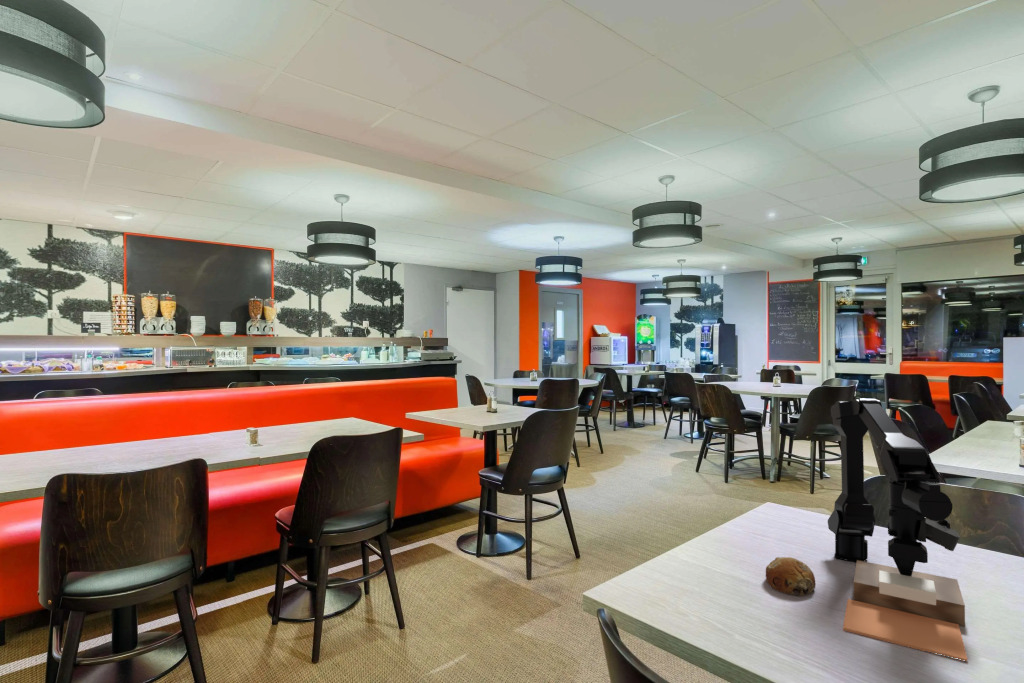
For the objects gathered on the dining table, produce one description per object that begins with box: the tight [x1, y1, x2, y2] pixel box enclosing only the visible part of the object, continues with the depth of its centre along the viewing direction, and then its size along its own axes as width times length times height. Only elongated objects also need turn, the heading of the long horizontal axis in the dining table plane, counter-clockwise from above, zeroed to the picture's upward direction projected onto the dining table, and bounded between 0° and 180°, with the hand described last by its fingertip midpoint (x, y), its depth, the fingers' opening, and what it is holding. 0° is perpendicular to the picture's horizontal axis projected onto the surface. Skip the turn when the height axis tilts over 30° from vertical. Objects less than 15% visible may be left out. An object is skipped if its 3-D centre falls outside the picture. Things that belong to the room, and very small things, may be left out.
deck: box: [853, 560, 966, 627], centre depth 113 cm, size 18×14×4 cm
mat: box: [842, 598, 969, 662], centre depth 102 cm, size 18×14×1 cm
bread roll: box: [765, 556, 816, 597], centre depth 120 cm, size 10×10×8 cm
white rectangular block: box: [879, 570, 936, 605], centre depth 108 cm, size 9×6×2 cm, turn 55°
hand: (906, 581), depth 111 cm, fingers closed
